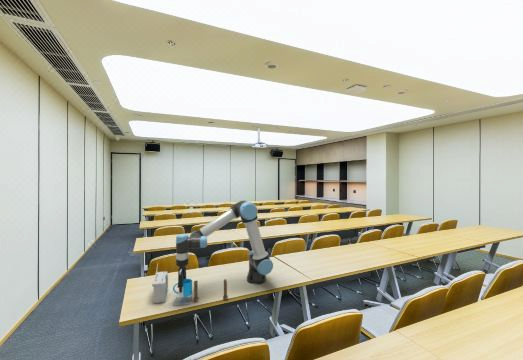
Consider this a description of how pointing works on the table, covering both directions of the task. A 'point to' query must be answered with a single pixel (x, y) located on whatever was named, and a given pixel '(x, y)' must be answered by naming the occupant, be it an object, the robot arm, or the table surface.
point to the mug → (185, 287)
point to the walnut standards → (197, 291)
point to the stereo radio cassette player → (160, 286)
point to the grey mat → (182, 301)
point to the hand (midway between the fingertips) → (182, 293)
